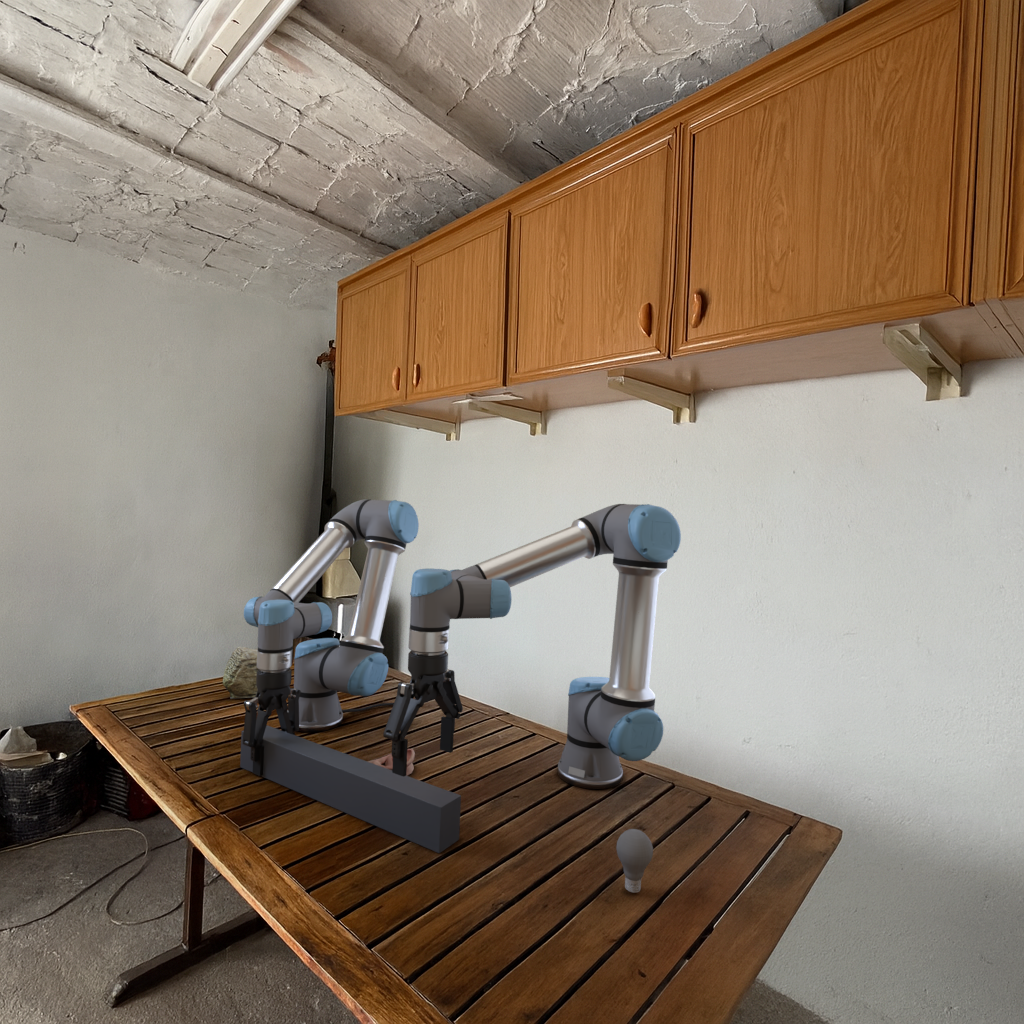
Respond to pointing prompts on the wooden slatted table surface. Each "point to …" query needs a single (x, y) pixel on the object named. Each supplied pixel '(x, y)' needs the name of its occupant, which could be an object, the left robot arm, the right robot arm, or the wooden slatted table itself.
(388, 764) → the anatomical model
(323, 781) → the bar
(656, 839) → the wooden slatted table surface
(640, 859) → the light bulb
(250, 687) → the fossil
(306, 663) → the left robot arm
